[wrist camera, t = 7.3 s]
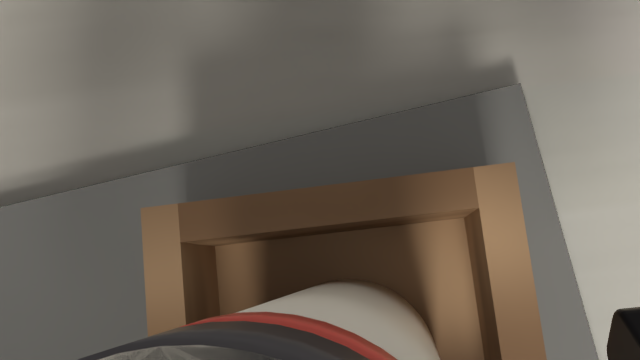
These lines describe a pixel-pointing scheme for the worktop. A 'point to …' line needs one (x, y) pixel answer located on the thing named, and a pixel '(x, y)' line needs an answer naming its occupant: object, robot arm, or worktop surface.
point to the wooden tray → (358, 255)
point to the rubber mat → (253, 178)
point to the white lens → (298, 330)
